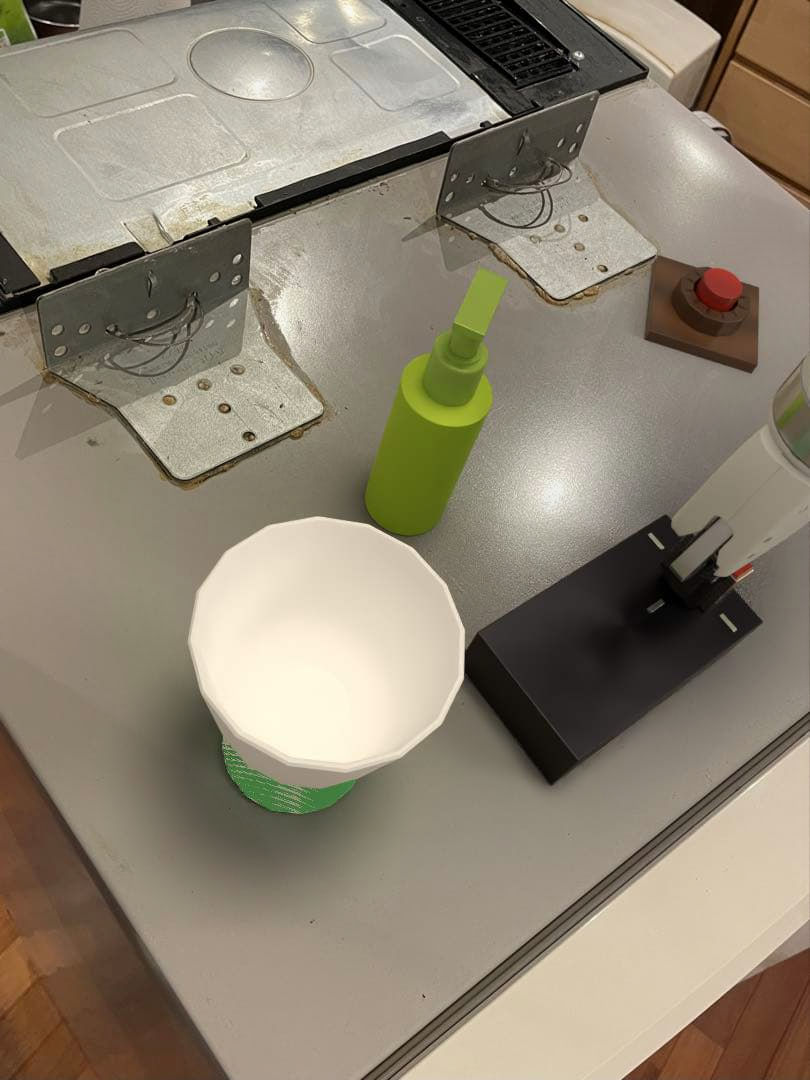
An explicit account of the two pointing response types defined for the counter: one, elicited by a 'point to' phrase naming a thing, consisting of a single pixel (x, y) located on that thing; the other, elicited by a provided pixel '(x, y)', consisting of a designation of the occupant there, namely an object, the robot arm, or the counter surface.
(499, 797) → the counter surface
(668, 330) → the block
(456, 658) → the cup
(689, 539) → the red-tipped black block
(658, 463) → the counter surface
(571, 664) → the black switch box
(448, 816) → the counter surface
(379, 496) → the soap dispenser
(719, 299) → the button
